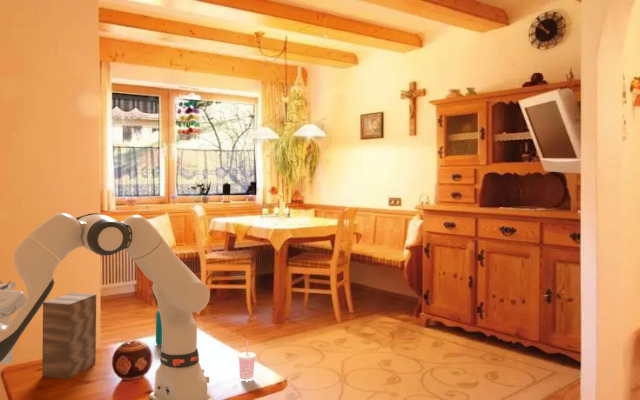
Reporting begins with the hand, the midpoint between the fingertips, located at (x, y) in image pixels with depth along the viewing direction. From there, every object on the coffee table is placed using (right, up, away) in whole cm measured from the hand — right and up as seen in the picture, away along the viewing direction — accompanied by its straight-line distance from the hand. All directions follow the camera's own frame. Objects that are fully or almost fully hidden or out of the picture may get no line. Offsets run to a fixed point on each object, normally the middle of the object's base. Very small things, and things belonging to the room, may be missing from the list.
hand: (6, 282), depth 159 cm
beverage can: (+28, -36, +63) cm, 78 cm away
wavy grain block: (+4, -36, +32) cm, 49 cm away
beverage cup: (+68, -39, +28) cm, 83 cm away
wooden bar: (-1, -12, -3) cm, 13 cm away
